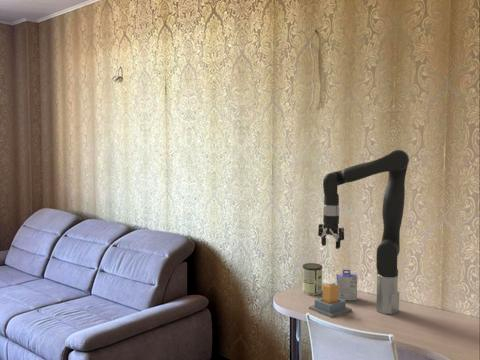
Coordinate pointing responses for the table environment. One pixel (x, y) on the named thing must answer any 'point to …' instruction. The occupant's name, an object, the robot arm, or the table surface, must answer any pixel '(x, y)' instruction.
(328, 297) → the connector plug
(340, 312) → the holder
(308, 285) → the coffee can
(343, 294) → the ink cartridge box
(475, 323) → the table surface
